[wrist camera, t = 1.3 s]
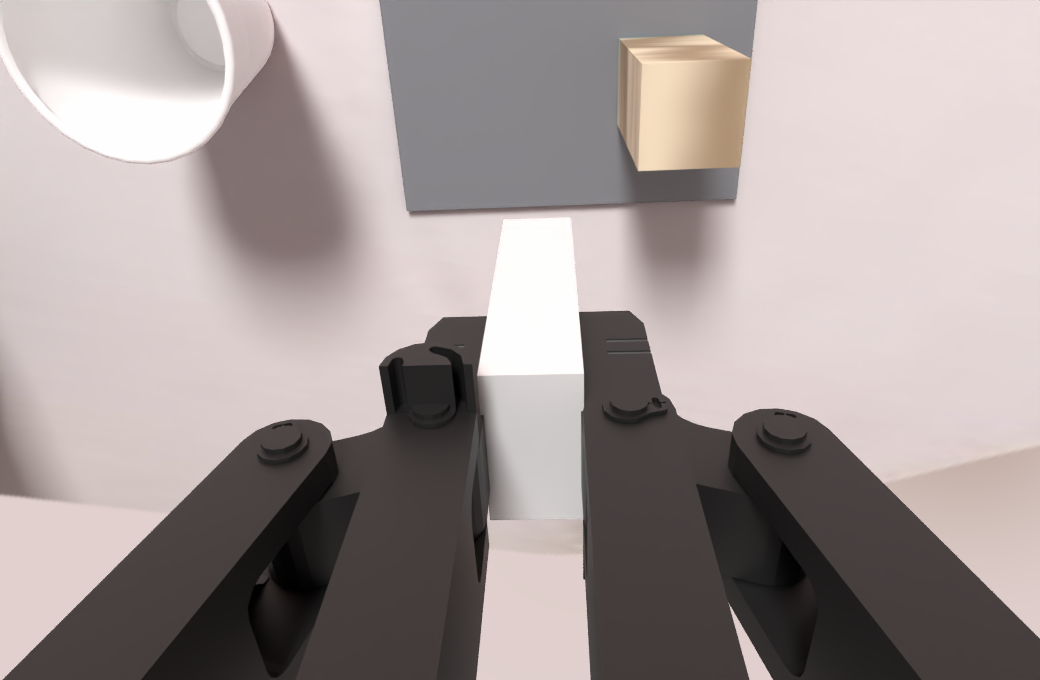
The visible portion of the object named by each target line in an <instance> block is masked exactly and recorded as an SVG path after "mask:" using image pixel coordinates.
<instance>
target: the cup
mask: <svg viewBox="0 0 1040 680" xmlns="http://www.w3.org/2000/svg"><path fill="white" fill-rule="evenodd" d="M273 44H274V23H273V18H272V14H271V11H270V7H269V5H268V3H267V1H266V0H0V55H1V57H2V59H3V61H4V63H5V65H6V68H7V70H8V72H9V74H10V76H11V77H12V79H13V80H14V82H15V83H16V85H17V86H18V88H19V89H20V91H21V92H22V94H23V95H24V97H25V98H26V99H27V100H28V101H29V102H30V104H31V105H32V106H33V107H34V108H35V109H36V110H37V111H38V113H39V114H40V115H41V116H42V117H43V118H44V119H45V120H47V121H48V122H49V123H50V124H51V125H52V126H54V127H55V128H56V129H57V130H58V131H60V132H61V133H62V134H63V135H65V136H66V137H68V138H70V139H71V140H73V141H74V142H76V143H78V144H79V145H81V146H82V147H84V148H86V149H89V150H91V151H93V152H95V153H98V154H100V155H102V156H105V157H108V158H112V159H116V160H120V161H124V162H128V163H139V164H156V163H163V162H170V161H174V160H176V159H179V158H182V157H184V156H187V155H189V154H191V153H193V152H194V151H196V150H197V149H199V148H200V147H202V146H203V145H205V144H206V143H207V142H208V141H209V140H210V139H211V138H212V137H213V135H214V134H215V133H216V132H217V131H218V130H219V129H220V127H221V125H222V123H223V121H224V119H225V118H226V116H227V114H228V112H229V110H230V107H231V105H232V104H233V103H234V102H235V100H236V99H237V98H238V97H239V95H240V94H241V93H242V92H243V90H244V89H245V88H246V87H247V86H248V84H249V83H250V82H251V81H252V80H253V78H254V77H255V76H256V75H257V74H258V73H259V71H260V70H261V69H262V68H263V66H264V65H265V64H266V62H267V60H268V58H269V57H270V55H271V51H272V48H273Z"/></svg>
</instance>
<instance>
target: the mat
mask: <svg viewBox="0 0 1040 680" xmlns="http://www.w3.org/2000/svg"><path fill="white" fill-rule="evenodd" d="M379 1H380V9H381V17H382V24H383V32H384V40H385V47H386V55H387V63H388V70H389V78H390V85H391V93H392V101H393V108H394V116H395V124H396V131H397V139H398V146H399V154H400V162H401V169H402V177H403V185H404V192H405V200H406V208H407V211H425V210H452V209H479V208H506V207H533V206H560V205H587V204H614V203H641V202H668V201H695V200H722V199H736V195H737V186H738V176H739V167H732V168H706V169H680V170H655V171H638V170H637V167H636V165H635V163H634V161H633V158H632V156H631V154H630V152H629V150H628V147H627V145H626V143H625V141H624V138H623V136H622V134H621V132H620V129H619V127H618V125H617V88H618V39H619V38H634V37H655V36H676V35H696V34H703V35H705V36H707V37H709V38H711V39H713V40H715V41H717V42H719V43H721V44H723V45H725V46H727V47H729V48H731V49H733V50H735V51H737V52H739V53H741V54H743V55H745V56H747V57H749V58H751V56H752V47H753V37H754V28H755V19H756V10H757V0H379Z"/></svg>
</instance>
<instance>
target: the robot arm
mask: <svg viewBox="0 0 1040 680" xmlns="http://www.w3.org/2000/svg"><path fill="white" fill-rule="evenodd" d="M379 370H380V376H381V382H382V388H383V394H384V400H385V406H386V411H387V416H386V419H385V422H384V425H383V427H381V428H379V429H377V430H375V431H372V432H369V433H366V434H363V435H359V436H355V437H350V438H346V439H341V440H337V441H332V437H331V433H330V431H329V430H328V429H327V428H326V427H325V426H324V425H323V424H321V423H318V422H315V421H311V420H286V421H280V422H277V423H273V424H271V425H268V426H266V427H264V428H261V429H259V430H257V431H255V432H254V433H253V434H251V435H250V436H249V437H247V438H246V439H244V440H243V441H242V442H241V443H240V444H239V445H238V446H237V447H236V448H235V449H234V450H233V451H232V452H231V453H230V454H229V455H228V456H227V457H226V458H225V459H224V460H223V461H222V462H221V463H220V464H219V465H218V466H217V467H216V468H215V469H214V470H213V471H212V472H211V473H210V474H209V475H208V476H207V477H206V478H205V479H204V480H203V481H202V482H201V483H200V484H199V485H198V486H197V487H196V488H195V489H194V490H193V491H192V492H191V493H190V494H189V495H188V496H187V497H186V498H185V499H184V500H183V501H182V502H181V503H180V504H179V505H178V506H177V507H176V508H175V509H174V510H173V511H172V512H171V513H170V514H169V515H168V516H167V517H166V518H165V519H164V520H163V521H162V522H161V523H160V524H159V525H158V526H157V527H156V528H155V529H154V530H153V531H152V532H151V533H150V534H149V535H148V536H147V537H146V538H145V539H144V540H143V541H142V542H141V543H140V544H139V545H137V547H136V548H134V549H133V550H132V551H131V552H130V554H128V556H126V557H125V558H124V560H123V561H121V562H120V563H119V564H118V565H117V567H115V568H114V569H113V570H112V571H111V572H110V573H109V574H108V575H107V576H106V577H105V579H103V581H101V582H100V583H99V585H97V586H96V587H95V588H94V589H93V590H92V591H91V592H90V593H89V594H88V595H87V596H86V597H85V598H84V599H83V600H82V601H81V602H80V603H79V604H78V605H77V606H76V607H75V608H74V609H73V610H72V611H71V612H70V613H69V614H68V615H67V616H66V617H65V618H64V619H63V620H62V621H61V622H60V623H59V624H58V625H57V626H56V627H55V628H54V629H53V630H52V631H51V632H50V633H49V634H48V635H47V636H46V637H45V638H44V639H43V640H42V641H41V642H40V643H39V644H38V645H37V646H36V647H35V648H34V649H33V650H32V651H31V652H30V653H29V654H28V655H27V656H26V657H25V658H24V659H23V660H22V661H21V662H20V663H19V664H18V665H17V666H16V667H15V668H14V669H13V670H12V671H11V672H10V673H9V674H8V675H7V676H6V677H5V678H4V679H3V680H476V675H477V665H478V654H479V644H480V634H481V623H482V612H483V602H484V592H485V582H486V571H487V561H488V551H489V539H488V528H487V514H488V505H489V513H490V520H546V519H583V566H584V567H583V569H584V570H583V579H585V583H586V600H587V619H588V638H589V654H590V655H589V656H590V674H591V680H749V677H748V673H747V669H746V666H745V662H744V658H743V655H742V651H741V648H740V644H739V640H738V636H737V633H736V629H735V625H734V622H733V618H732V614H731V611H730V607H729V604H730V606H731V607H732V609H733V611H734V613H735V614H736V616H737V618H738V620H739V621H740V623H741V625H742V627H743V628H744V630H745V632H746V633H747V635H748V637H749V639H750V640H751V642H752V644H753V645H754V647H755V649H756V651H757V653H758V654H759V656H760V658H761V659H762V661H763V663H764V664H765V666H766V668H767V670H768V671H769V673H770V675H771V677H772V678H773V680H1040V638H1039V637H1038V636H1036V635H1035V634H1034V633H1033V632H1032V631H1031V630H1030V629H1029V628H1028V627H1027V626H1026V625H1025V624H1024V623H1023V622H1022V621H1021V620H1020V619H1019V618H1018V617H1017V616H1016V615H1015V614H1014V613H1013V612H1012V611H1011V610H1010V609H1009V608H1008V607H1007V606H1006V605H1005V604H1004V603H1003V602H1002V601H1001V600H1000V599H999V598H998V597H997V596H996V595H995V594H994V593H993V592H992V591H991V590H990V589H989V588H988V587H987V586H986V585H985V584H984V583H983V582H982V581H981V580H980V579H979V578H978V577H977V576H976V575H975V574H974V573H973V572H972V571H971V570H970V569H969V568H968V567H967V566H966V565H965V564H964V563H963V562H962V561H961V560H960V559H959V558H958V557H957V556H956V555H955V554H954V553H953V552H952V551H951V550H950V549H949V548H948V547H947V546H946V545H945V544H944V543H943V542H942V541H941V540H940V539H939V538H938V537H937V536H936V535H935V534H934V533H933V532H932V531H931V530H930V529H929V528H928V527H927V526H926V525H925V524H924V523H923V522H921V521H920V519H919V518H918V517H917V516H916V515H915V514H914V513H913V512H912V511H911V510H910V509H909V508H908V507H906V505H905V504H904V503H903V502H902V501H901V500H900V499H899V498H898V497H897V496H896V495H895V494H894V493H892V491H891V490H890V489H888V488H887V487H886V486H885V485H884V484H883V483H882V482H881V481H880V480H879V479H878V478H877V477H876V476H875V475H874V474H873V473H872V472H871V471H870V470H869V469H868V468H867V467H866V466H865V465H864V464H863V463H862V462H861V461H860V460H859V459H858V458H857V457H856V456H855V455H854V454H853V453H852V452H851V451H850V450H849V449H848V448H847V447H846V446H845V445H844V444H843V443H842V442H841V441H840V440H839V439H838V438H837V437H836V436H835V435H834V434H833V433H832V432H831V431H830V430H829V429H828V428H827V427H825V426H824V425H822V424H821V423H820V422H818V421H817V420H815V419H813V418H811V417H808V416H806V415H803V414H801V413H798V412H794V411H790V410H784V409H758V410H755V411H752V412H749V413H746V414H743V415H742V416H741V417H740V418H739V419H738V420H736V421H735V422H734V426H733V431H732V432H730V431H725V430H719V429H714V428H709V427H705V426H701V425H697V424H694V423H692V422H689V421H687V420H685V419H683V418H681V417H680V416H678V415H677V413H676V409H675V407H674V406H673V404H672V402H671V401H670V399H669V398H667V397H666V396H664V395H663V394H662V393H661V389H660V385H659V382H658V378H657V374H656V370H655V366H654V362H653V358H652V354H651V353H650V346H649V343H648V341H647V335H646V331H645V327H644V323H643V322H641V321H640V320H639V319H638V318H637V317H636V316H635V315H633V314H632V313H631V312H630V311H602V312H579V309H578V297H577V285H576V273H575V261H574V250H573V238H572V226H571V217H569V218H538V219H508V220H503V225H502V231H501V237H500V243H499V249H498V255H497V261H496V267H495V273H494V279H493V285H492V291H491V296H490V302H489V308H488V314H487V316H481V317H443V318H442V319H441V320H440V321H439V322H438V323H437V324H436V325H434V326H433V327H432V328H431V329H430V330H429V331H428V334H427V338H426V341H425V343H422V344H414V345H411V346H408V347H405V348H402V349H399V350H397V351H395V352H394V353H392V354H390V355H389V356H387V357H386V358H385V359H384V360H383V362H382V363H381V364H380V366H379ZM728 602H729V603H728Z"/></svg>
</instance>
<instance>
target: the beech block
mask: <svg viewBox="0 0 1040 680" xmlns="http://www.w3.org/2000/svg"><path fill="white" fill-rule="evenodd" d="M751 61H752V59H751V58H749V57H747V56H745V55H743V54H741V53H739V52H737V51H735V50H733V49H731V48H729V47H727V46H725V45H723V44H721V43H719V42H717V41H715V40H713V39H711V38H709V37H707V36H705V35H703V34H696V35H676V36H655V37H634V38H619V39H618V88H617V125H618V127H619V129H620V132H621V134H622V136H623V138H624V141H625V143H626V145H627V147H628V150H629V152H630V154H631V156H632V158H633V161H634V163H635V165H636V167H637V170H638V171H655V170H680V169H706V168H732V167H740V163H741V153H742V144H743V135H744V126H745V116H746V107H747V98H748V89H749V79H750V70H751Z"/></svg>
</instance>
